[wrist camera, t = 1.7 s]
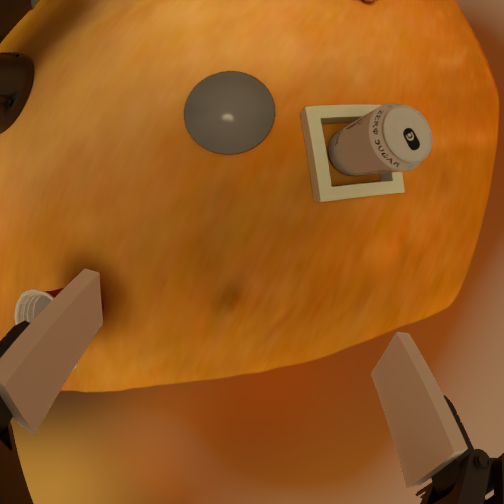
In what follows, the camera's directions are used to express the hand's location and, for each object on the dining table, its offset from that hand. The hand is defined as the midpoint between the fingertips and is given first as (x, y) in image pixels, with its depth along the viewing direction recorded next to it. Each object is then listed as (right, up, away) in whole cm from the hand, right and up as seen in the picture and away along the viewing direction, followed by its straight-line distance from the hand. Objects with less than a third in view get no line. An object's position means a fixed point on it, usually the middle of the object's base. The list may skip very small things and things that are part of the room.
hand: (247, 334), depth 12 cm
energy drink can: (+12, +16, +22) cm, 30 cm away
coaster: (-3, +20, +21) cm, 29 cm away
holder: (+12, +16, +22) cm, 30 cm away
